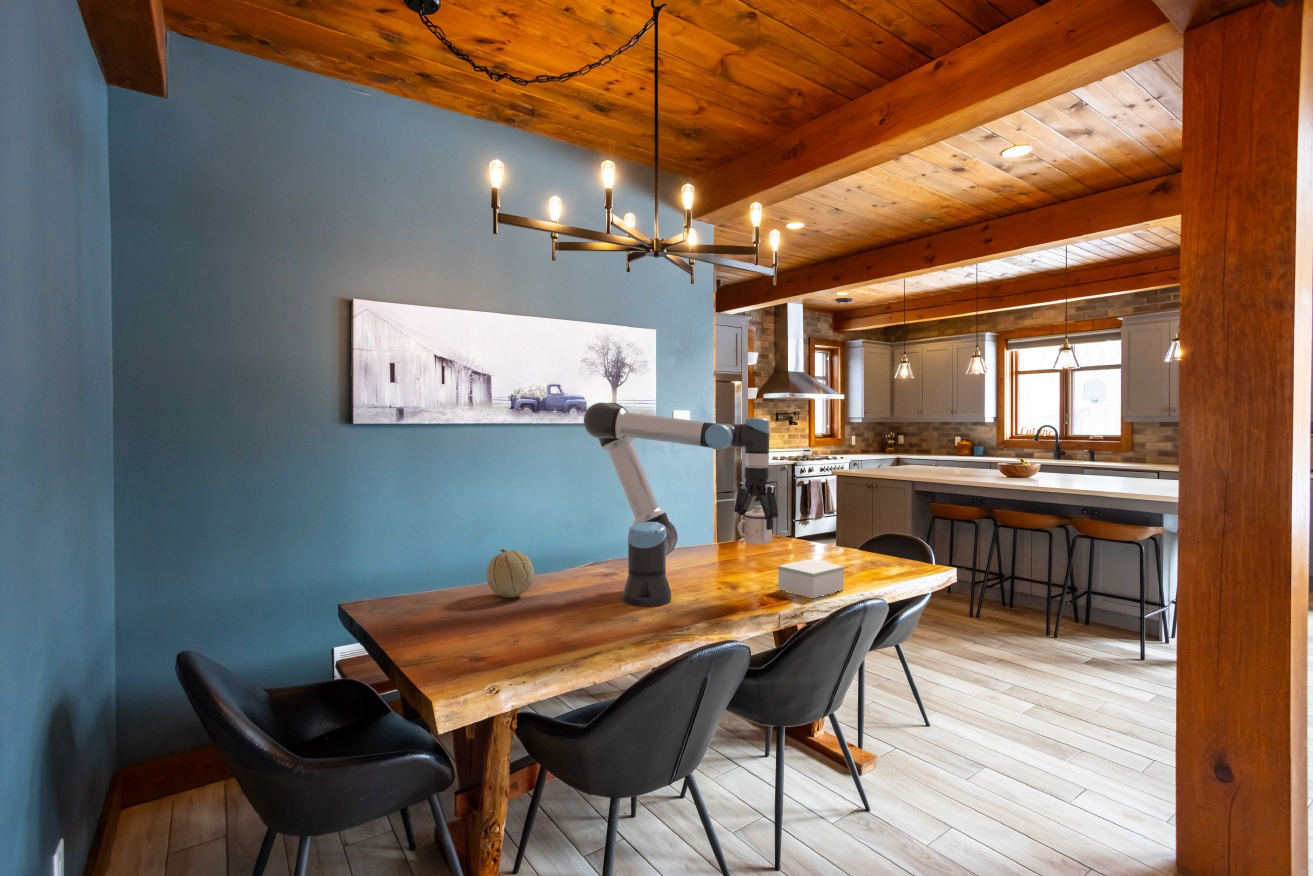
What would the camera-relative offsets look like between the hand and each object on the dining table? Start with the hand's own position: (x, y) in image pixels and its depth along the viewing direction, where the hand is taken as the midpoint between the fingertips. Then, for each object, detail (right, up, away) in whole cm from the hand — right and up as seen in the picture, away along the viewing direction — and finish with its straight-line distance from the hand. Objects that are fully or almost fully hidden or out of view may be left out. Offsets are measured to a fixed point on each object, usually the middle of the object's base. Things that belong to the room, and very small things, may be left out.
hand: (755, 537), depth 211 cm
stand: (+19, -18, +7) cm, 28 cm away
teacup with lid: (0, -2, 0) cm, 2 cm away
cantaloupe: (-77, -19, -1) cm, 80 cm away
